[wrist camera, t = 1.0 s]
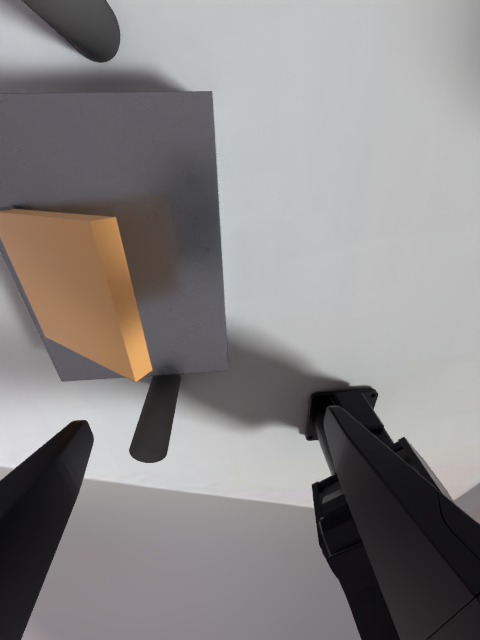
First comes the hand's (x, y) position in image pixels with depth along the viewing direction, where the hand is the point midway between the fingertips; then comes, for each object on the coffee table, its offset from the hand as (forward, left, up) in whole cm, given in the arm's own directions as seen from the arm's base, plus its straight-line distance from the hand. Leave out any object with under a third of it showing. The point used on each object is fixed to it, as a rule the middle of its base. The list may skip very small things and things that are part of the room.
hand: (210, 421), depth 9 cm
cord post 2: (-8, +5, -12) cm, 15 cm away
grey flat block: (+3, +5, -12) cm, 13 cm away
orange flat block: (+3, +6, -6) cm, 10 cm away
